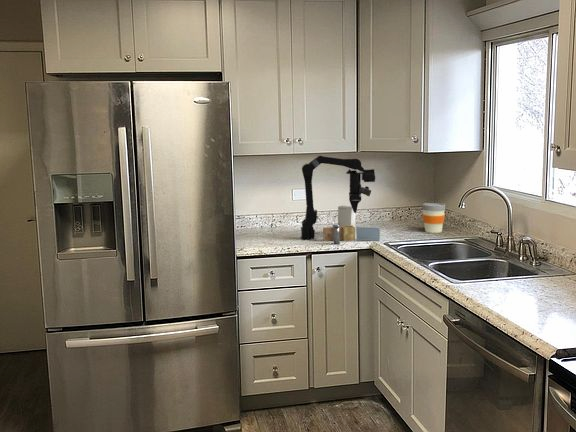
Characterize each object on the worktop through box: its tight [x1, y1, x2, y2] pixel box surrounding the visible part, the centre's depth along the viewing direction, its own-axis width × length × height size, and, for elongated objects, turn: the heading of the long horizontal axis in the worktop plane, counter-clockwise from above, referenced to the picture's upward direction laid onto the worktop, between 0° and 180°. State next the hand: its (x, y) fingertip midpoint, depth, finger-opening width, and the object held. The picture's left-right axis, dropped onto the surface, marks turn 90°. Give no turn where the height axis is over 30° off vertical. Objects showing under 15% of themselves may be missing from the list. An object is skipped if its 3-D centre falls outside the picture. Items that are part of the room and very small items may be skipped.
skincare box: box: [337, 204, 356, 228], centre depth 339 cm, size 8×7×16 cm
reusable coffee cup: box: [421, 202, 446, 234], centre depth 341 cm, size 13×13×15 cm
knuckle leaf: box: [322, 225, 356, 242], centre depth 322 cm, size 16×6×7 cm, turn 98°
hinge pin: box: [332, 224, 341, 245], centre depth 313 cm, size 4×4×10 cm
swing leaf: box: [355, 226, 381, 241], centre depth 320 cm, size 12×1×7 cm, turn 73°
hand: (354, 211), depth 328 cm, fingers open, 9 cm apart
